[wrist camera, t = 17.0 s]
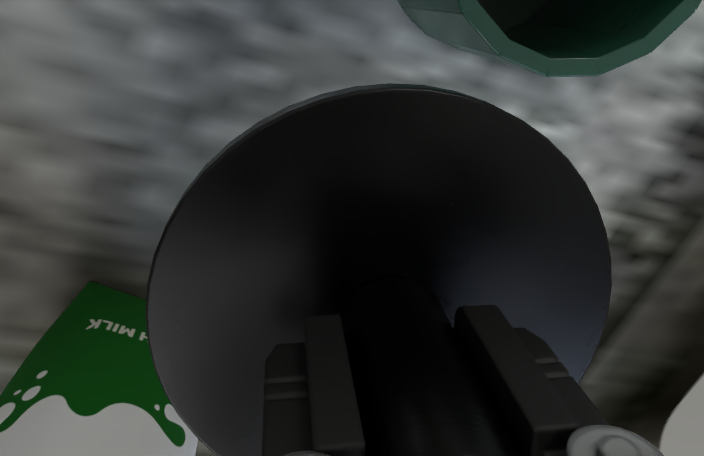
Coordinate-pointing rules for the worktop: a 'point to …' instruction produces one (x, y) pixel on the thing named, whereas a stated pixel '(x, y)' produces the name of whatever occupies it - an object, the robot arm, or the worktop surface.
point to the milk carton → (92, 387)
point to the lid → (375, 264)
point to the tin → (552, 30)
